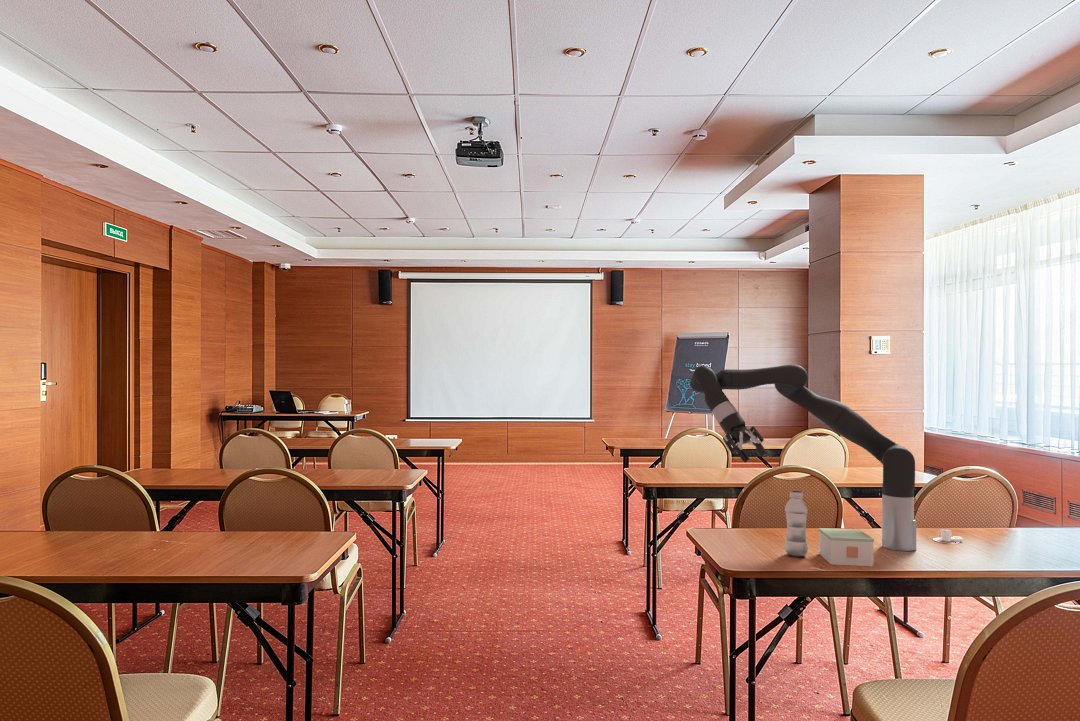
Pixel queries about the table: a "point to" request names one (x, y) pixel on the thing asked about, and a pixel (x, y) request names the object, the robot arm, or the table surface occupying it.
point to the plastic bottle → (796, 525)
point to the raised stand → (846, 547)
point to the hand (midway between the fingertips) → (756, 458)
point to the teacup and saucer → (948, 537)
